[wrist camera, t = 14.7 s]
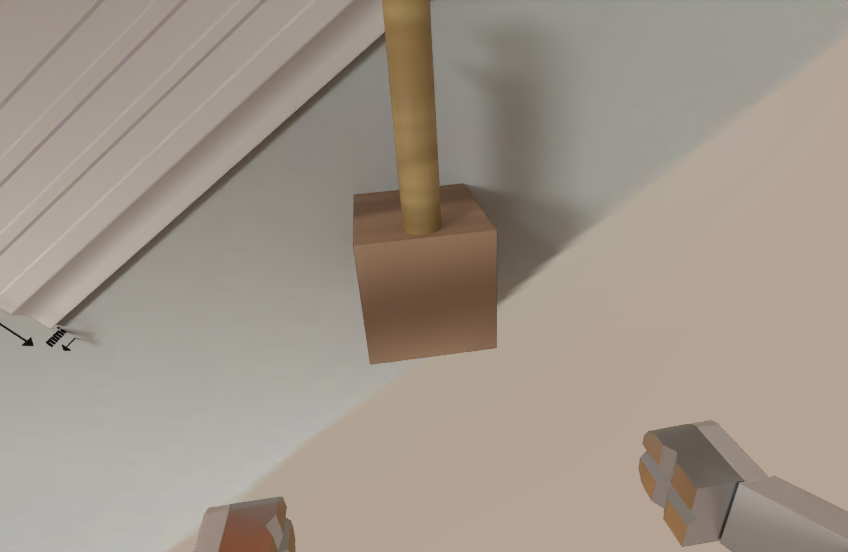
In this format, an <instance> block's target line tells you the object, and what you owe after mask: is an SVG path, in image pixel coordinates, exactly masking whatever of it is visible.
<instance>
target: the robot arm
mask: <svg viewBox="0 0 848 552" xmlns="http://www.w3.org/2000/svg"><path fill="white" fill-rule="evenodd" d="M643 445H644V447H645V448H646V449H647V451H646V452H645V453H644V454H643V455H642V456H641V458H640V463H639V473H640V477H641V482H642V484H643V486H644V488H645V490H646V492H647V494H648V495H649V497H650V499H651V500H652V501H653V502H655V503H656V504H658V505H659V506H661V507H663V508H664V520H665V522H666V523H667V525H668V526H669V528H670V529H671V531H672V532H673V534H674V535H675V537H676V538H677V540H678V542H679V543H680V545H681V546H682V547H684V546H690V545H696V544H702V543H708V542H714V541H720V540H721V541H720V543H721V544H722V545H724V546H725V547H726V548H728V549H729V550H730V551H732V552H848V511H846V510H844V509H842V508H840V507H838V506H836V505H833V504H832V503H829V502H827V501H825V500H823V499H821V498H819V497H817V496H815V495H813V494H811V493H809V492H807V491H805V490H803V489H801V488H799V487H796V486H794V485H792V484H790V483H788V482H786V481H784V480H782V479H780V478H778V477H776V476H772V477H768V476H767V475H766V474H765V472H764V471H763V470H762V469H761V468H760V467H759V466H758V465H757V464H756V463H755V462H754V461H753V460H752V459H751V458H750V457H749V456H748V455H747V454H746V453H745V452H744V451H743V449H742V448H740V446H739V445H738V444H737V443H736V442H735V441H734V440H733V439H732V438H731V437H730V436H729V435H728V434H727V433H726V432H725V431H724V430H723V429H722V428H721V427H720V426H719V424H717V423H716V422H714V421H712V420H710V421H704V422H698V423H693V424H689V425H688V424H685V425H680V426H674V427H669V428H664V429H658V430H653V431H648V432H647V433H646V434H645V435H644V439H643ZM286 508H287V507H286V504H285V501H284V499H283V497H275V498H268V499H262V500H255V501H248V502H241V503H234V504H229V505H223V506H217V507H210V508H208V509H207V511H206V512H205V514H204V516H203V518H202V522H201V525H200V528H199V532H198V535H197V538H196V542H195V545H194V548H193V552H295V535H294V529H293V525H292V522H291V520H289V519H287V518H286Z"/></svg>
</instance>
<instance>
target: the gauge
mask: <svg viewBox="0 0 848 552" xmlns="http://www.w3.org/2000/svg"><path fill="white" fill-rule="evenodd" d="M382 6H383V17H384V28H385V38H386V49H387V60H388V71H389V82H390V93H391V104H392V114H393V125H394V136H395V147H396V158H397V169H398V179H399V190H395V191H386V192H376V193H366V194H356V195H354V213H353V249H354V256H355V263H356V270H357V276H358V283H359V290H360V297H361V304H362V311H363V318H364V325H365V332H366V339H367V346H368V352H369V359H370V365H371V364H378V363H386V362H394V361H401V360H409V359H416V358H424V357H432V356H439V355H447V354H455V353H462V352H470V351H477V350H485V349H493V348H497V344H496V343H497V229H496V228H495V227H494V225H493V224H492V223H491V221H490V220H489V219H488V217H487V216H486V214H485V213H484V212H483V210H482V209H481V208H480V206H479V205H478V203H477V202H476V201H475V199H474V198H473V197H472V195H471V194H470V193H469V191H468V190H467V188H466V187H465V186H464V184H455V185H445V186H439V168H438V150H437V131H436V112H435V93H434V75H433V56H432V37H431V18H430V0H382Z"/></svg>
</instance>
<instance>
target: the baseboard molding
mask: <svg viewBox="0 0 848 552" xmlns="http://www.w3.org/2000/svg"><path fill="white" fill-rule="evenodd" d="M384 32H385V28H384V17H383V6H382V0H0V308H2V309H3V310H5V311H6V312H8V313H9V314H11V315H23V316H28V317H31V318H34V319H36V320H38V321H39V322H41V323H42V324H43V325H45V326H46V327H48V328H49V329H51V328H52V327H54V326H55V325H56V324H57V323H58V322H59V321H60V320H61V319H63V318H64V317H65V316H66V315H67V314H68V313H69V312H70V311H72V310H73V309H74V308H75V307H76V306H77V305H78V304H79V303H81V302H82V301H83V300H84V299H85V298H86V297H87V296H88V295H90V294H91V293H92V292H93V291H94V290H95V289H96V288H97V287H99V286H100V285H101V284H102V283H103V282H104V281H105V280H106V279H108V278H109V277H110V276H111V275H112V274H113V273H114V272H115V271H117V270H118V269H119V268H120V267H121V266H122V265H123V264H124V263H126V262H127V261H128V260H129V259H130V258H131V257H132V256H133V255H135V254H136V253H137V252H138V251H139V250H140V249H141V248H142V247H144V246H145V245H146V244H147V243H148V242H149V241H150V240H152V239H153V238H154V237H155V236H156V235H157V234H158V233H159V232H161V231H162V230H163V229H164V228H165V227H166V226H167V225H168V224H170V223H171V222H172V221H173V220H174V219H175V218H176V217H177V216H179V215H180V214H181V213H182V212H183V211H184V210H185V209H186V208H188V207H189V206H190V205H191V204H192V203H193V202H194V201H195V200H197V199H198V198H199V197H200V196H201V195H202V194H203V193H204V192H206V191H207V190H208V189H209V188H210V187H211V186H212V185H213V184H215V183H216V182H217V181H218V180H219V179H220V178H221V177H222V176H224V175H225V174H226V173H227V172H228V171H229V170H230V169H231V168H233V167H234V166H235V165H236V164H237V163H238V162H239V161H240V160H242V159H243V158H244V157H245V156H246V155H247V154H248V153H249V152H251V151H252V150H253V149H254V148H255V147H256V146H257V145H258V144H260V143H261V142H262V141H263V140H264V139H265V138H266V137H267V136H269V135H270V134H271V133H272V132H273V131H274V130H275V129H276V128H278V127H279V126H280V125H281V124H282V123H283V122H284V121H285V120H287V119H288V118H289V117H290V116H291V115H292V114H293V113H294V112H296V111H297V110H298V109H299V108H300V107H301V106H302V105H303V104H305V103H306V102H307V101H308V100H309V99H310V98H311V97H312V96H314V95H315V94H316V93H317V92H318V91H319V90H320V89H321V88H323V87H324V86H325V85H326V84H327V83H328V82H329V81H330V80H332V79H333V78H334V77H335V76H336V75H337V74H338V73H339V72H341V71H342V70H343V69H344V68H345V67H346V66H347V65H348V64H350V63H351V62H352V61H353V60H354V59H355V58H356V57H357V56H359V55H360V54H361V53H362V52H363V51H364V50H365V49H366V48H368V47H369V46H370V45H371V44H372V43H373V42H374V41H375V40H377V39H378V38H379V37H380V36H381V35H382V34H383V33H384ZM0 325H1V326H2V327H4V328H5V329H7V330H8V331H10V332H11V333H13V334H14V335H16V336H18V337H19V338H21V339H22V340H24V341H25V343H24V344H23V345H22V346H33V342H32V339H31V337H30V338H29V339H28V340H25V339H24V338H22V337H21V336H19V335H18V334H16V333H15V332H13V331H12V330H10V329H8V328H7V327H5V326H4V325H2V324H1V323H0ZM58 329H59V327H58ZM62 332H63V333H62ZM58 333H60V334H61V335H62V336H61V335H60V334H58ZM64 333H66V332H65V331H64V330H62V329H61V331H59V330H58V331H57V332H56V333H55V334H54V335H53V337H54V338H53V337H51V338H50V339H49V341H46V343H47V344H48V345H49V346H51V347H53V346H54V345H55V344H56V343H55V342H58V340H60V338H62V337H63V336H64V335H65V334H64ZM56 335H57V336H58V337H57V336H56ZM59 337H60V338H59ZM55 338H56V339H57V340H56V339H55ZM74 339H75V338H74ZM74 339H73V340H74ZM52 340H54V341H55V342H54V341H52ZM73 340H72V341H71V342H70V343H69V344H68V345H67V346H66V347H65V346H64V345H63V344H62V347H63V350H64V351H71V350H70V349H68V348H67V347H68V346H69V345H70V344H71V343H72V342H73ZM49 342H51V343H52V344H54V345H52V344H51V343H49Z"/></svg>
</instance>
